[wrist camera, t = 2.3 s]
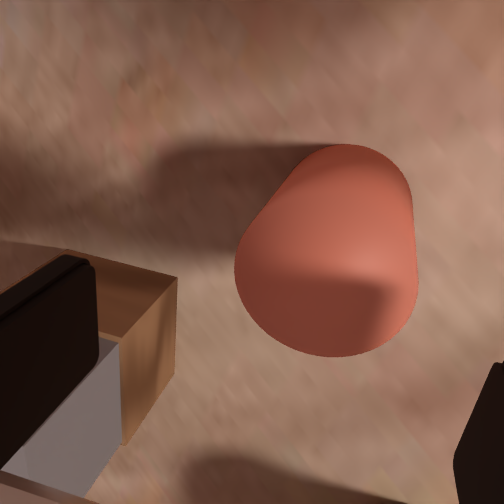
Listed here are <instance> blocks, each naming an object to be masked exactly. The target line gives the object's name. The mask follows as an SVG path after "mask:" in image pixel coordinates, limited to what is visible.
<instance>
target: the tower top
mask: <svg viewBox="0 0 504 504" xmlns="http://www.w3.org/2000/svg"><path fill="white" fill-rule="evenodd" d="M121 443H122V427H121V397H120V367H119V343H118V342H114V341H111V340H108V339H104V338H101V337H99V358H98V361H97V363H96V365H95V366H94V368H93V369H92V370H91V371H90V372H89V373H88V374H87V375H86V377H85V378H84V379H83V380H82V381H81V382H80V383H79V384H78V385H77V386H76V388H75V389H74V390H73V391H72V392H71V393H70V394H69V395H68V396H67V397H66V398H65V400H64V401H63V402H62V403H61V404H60V405H59V406H58V407H57V408H56V409H55V411H54V412H53V413H52V414H51V415H50V416H49V417H48V418H47V419H46V420H45V422H44V423H43V424H42V425H41V426H40V427H39V428H38V429H37V430H36V431H35V433H34V434H33V435H32V436H31V437H30V438H29V439H28V440H27V441H26V442H25V444H24V445H23V446H22V447H21V448H20V449H19V450H18V451H17V452H16V453H15V454H14V456H13V457H12V458H11V459H10V460H9V461H8V462H7V463H6V464H5V465H4V467H3V468H2V469H1V470H2V471H5V472H8V473H11V474H14V475H17V476H20V477H23V478H25V479H28V480H31V481H34V482H37V483H40V484H43V485H46V486H49V487H52V488H55V489H58V490H61V491H64V492H67V493H70V494H73V495H75V496H78V497H81V498H84V497H85V495H86V494H87V492H88V491H89V489H90V488H91V486H92V485H93V483H94V482H95V480H96V479H97V478H98V476H99V475H100V473H101V472H102V470H103V469H104V467H105V466H106V464H107V463H108V461H109V460H110V459H111V457H112V456H113V454H114V453H115V451H116V450H117V448H118V447H119V445H120V444H121Z"/></svg>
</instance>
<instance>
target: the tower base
mask: <svg viewBox="0 0 504 504" xmlns="http://www.w3.org/2000/svg"><path fill="white" fill-rule="evenodd" d="M64 254H68V255H72V256H76V257H81V258H85V259H87V260H89V262H90V265H91V266H93V267H94V269H95V273H96V292H97V313H98V333H99V337H101V338H104V339H108V340H111V341H114V342H118V343H119V367H120V397H121V427H122V443H121V444H120V445H123V446H126V445H127V444H128V442H129V441H130V439H131V438H132V436H133V435H134V433H135V432H136V430H137V429H138V427H139V426H140V424H141V423H142V421H143V420H144V418H145V417H146V415H147V414H148V412H149V411H150V409H151V408H152V406H153V405H154V403H155V402H156V400H157V399H158V397H159V396H160V394H161V393H162V391H163V390H164V388H165V387H166V385H167V384H168V382H169V381H170V379H171V378H172V376H173V375H174V367H175V338H176V310H177V281H178V277H174V276H171V275H167V274H163V273H159V272H155V271H151V270H147V269H143V268H139V267H135V266H131V265H127V264H123V263H120V262H116V261H112V260H108V259H104V258H100V257H96V256H92V255H88V254H84V253H80V252H76V251H73V250H69V249H67V250H65V251H64V252H62V253H61V254H59V255H57V256H56V257H54V258H53V259H51V260H50V261H48V262H46V263H45V264H43V265H42V266H40V267H39V268H37V269H36V270H34V271H32V272H31V273H29V274H28V275H26V276H25V277H23V278H22V279H20V280H18V281H17V282H15V283H14V284H12V285H11V286H9V287H8V288H6V289H4V290H3V291H1V292H0V294H1V293H3V292H5V291H6V290H8V289H9V288H11V287H12V286H14V285H16V284H17V283H19V282H20V281H22V280H23V279H25V278H27V277H28V276H30V275H31V274H33V273H34V272H36V271H38V270H39V269H41V268H42V267H44V266H45V265H47V264H48V263H50V262H52V261H53V260H55V259H56V258H58V257H59V256H61V255H64Z"/></svg>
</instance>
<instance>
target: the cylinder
mask: <svg viewBox="0 0 504 504" xmlns="http://www.w3.org/2000/svg"><path fill="white" fill-rule="evenodd" d="M234 274H235V282H236V286H237V290H238V293H239V296H240V298H241V301H242V303H243V305H244V306H245V308H246V310H247V312H248V313H249V314H250V316H251V317H252V319H253V320H254V321H255V322H256V323H257V324H258V325H259V326H260V327H261V328H262V329H263V330H264V331H265V332H266V333H267V334H269V335H270V336H271V337H273V338H274V339H276V340H277V341H279V342H281V343H282V344H284V345H286V346H288V347H290V348H293V349H295V350H297V351H300V352H304V353H307V354H311V355H316V356H323V357H346V356H353V355H357V354H362V353H364V352H367V351H370V350H373V349H375V348H377V347H379V346H381V345H382V344H384V343H385V342H387V341H388V340H390V339H391V338H392V337H393V336H394V335H396V334H397V333H398V332H399V331H400V330H401V328H402V327H403V326H404V325H405V324H406V322H407V320H408V319H409V317H410V315H411V313H412V311H413V308H414V306H415V303H416V299H417V295H418V270H417V257H416V244H415V231H414V218H413V205H412V196H411V191H410V188H409V185H408V183H407V181H406V179H405V177H404V175H403V174H402V172H401V171H400V170H399V168H398V167H397V166H396V165H395V164H394V163H393V162H392V161H391V160H390V159H388V158H387V157H385V156H384V155H383V154H381V153H379V152H377V151H375V150H373V149H370V148H367V147H363V146H359V145H351V144H341V145H334V146H329V147H325V148H322V149H320V150H318V151H315V152H313V153H312V154H310V155H309V156H307V157H306V158H304V159H303V160H302V161H301V162H300V163H299V164H298V165H297V166H296V167H295V168H294V169H293V171H292V172H291V173H290V175H289V176H288V177H287V178H286V180H285V181H284V182H283V183H282V185H281V186H280V187H279V188H278V190H277V191H276V192H275V194H274V195H273V196H272V197H271V199H270V200H269V201H268V202H267V204H266V205H265V206H264V207H263V209H262V210H261V211H260V213H259V214H258V215H257V216H256V218H255V219H254V220H253V221H252V223H251V224H250V225H249V227H248V228H247V230H246V231H245V232H244V234H243V236H242V238H241V240H240V242H239V245H238V248H237V251H236V256H235V264H234Z"/></svg>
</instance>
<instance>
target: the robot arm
mask: <svg viewBox="0 0 504 504" xmlns="http://www.w3.org/2000/svg"><path fill="white" fill-rule="evenodd" d="M98 358H99V333H98V313H97V292H96V273H95V269H94V267H93V266H91V265H90V262H89V260H87V259H85V258H81V257H76V256H72V255H68V254H64V255H61V256H59V257H58V258H56V259H55V260H53V261H52V262H50V263H48V264H47V265H45V266H44V267H42V268H41V269H39V270H38V271H36V272H34V273H33V274H31V275H30V276H28V277H27V278H25V279H23V280H22V281H20V282H19V283H17V284H16V285H14V286H12V287H11V288H9V289H8V290H6V291H5V292H3V293H1V294H0V504H99V503H96V502H93V501H90V500H87V499H84V498H81V497H78V496H75V495H73V494H70V493H67V492H64V491H61V490H58V489H55V488H52V487H49V486H46V485H43V484H40V483H37V482H34V481H31V480H28V479H25V478H23V477H20V476H17V475H14V474H11V473H8V472H5V471H2V470H1V469H2V468H3V467H4V465H5V464H6V463H7V462H8V461H9V460H10V459H11V458H12V457H13V456H14V454H15V453H16V452H17V451H18V450H19V449H20V448H21V447H22V446H23V445H24V444H25V442H26V441H27V440H28V439H29V438H30V437H31V436H32V435H33V434H34V433H35V431H36V430H37V429H38V428H39V427H40V426H41V425H42V424H43V423H44V422H45V420H46V419H47V418H48V417H49V416H50V415H51V414H52V413H53V412H54V411H55V409H56V408H57V407H58V406H59V405H60V404H61V403H62V402H63V401H64V400H65V398H66V397H67V396H68V395H69V394H70V393H71V392H72V391H73V390H74V389H75V388H76V386H77V385H78V384H79V383H80V382H81V381H82V380H83V379H84V378H85V377H86V375H87V374H88V373H89V372H90V371H91V370H92V369H93V368H94V366H95V365H96V363H97V361H98ZM453 470H454V476H455V482H456V488H457V494H458V500H459V504H504V361H503V363H498V362H496V363H494V364H493V366H492V368H491V370H490V372H489V374H488V377H487V379H486V381H485V384H484V386H483V388H482V391H481V393H480V395H479V397H478V400H477V402H476V404H475V407H474V409H473V411H472V414H471V416H470V418H469V421H468V423H467V425H466V427H465V430H464V432H463V434H462V437H461V439H460V441H459V444H458V446H457V448H456V451H455V454H454V459H453Z"/></svg>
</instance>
